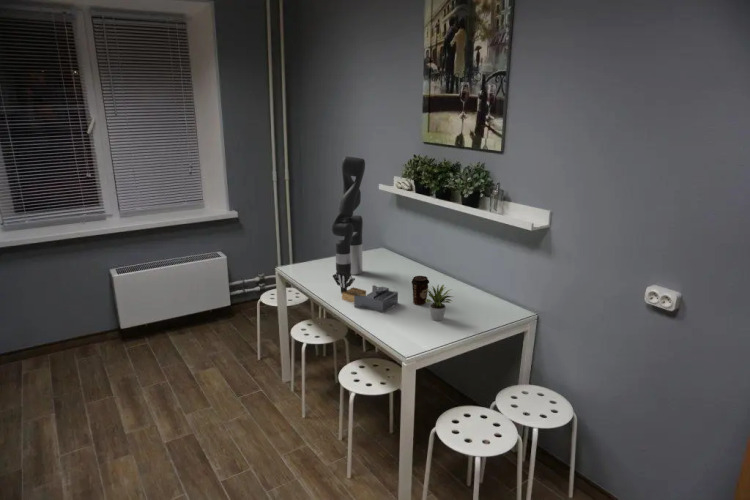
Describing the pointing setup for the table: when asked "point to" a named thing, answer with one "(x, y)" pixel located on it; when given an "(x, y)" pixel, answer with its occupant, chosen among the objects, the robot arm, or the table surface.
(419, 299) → the coffee cup
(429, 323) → the table surface
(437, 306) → the house plant
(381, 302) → the coupler dock
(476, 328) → the table surface
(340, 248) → the robot arm
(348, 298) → the block
